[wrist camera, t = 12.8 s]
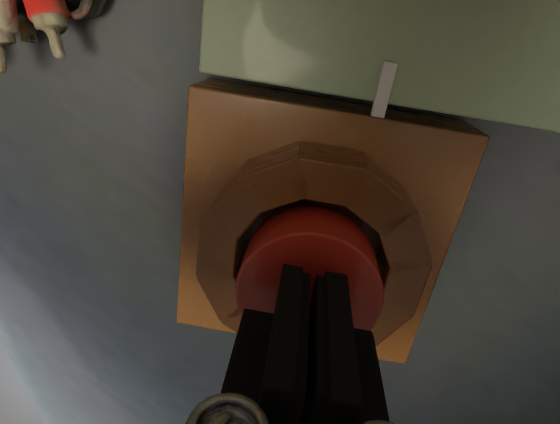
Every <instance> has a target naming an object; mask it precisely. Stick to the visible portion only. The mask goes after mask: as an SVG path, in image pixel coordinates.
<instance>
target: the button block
mask: <svg viewBox="0 0 560 424" xmlns="http://www.w3.org/2000/svg"><path fill="white" fill-rule="evenodd" d="M371 110H372V105H366V104H360V103H354V102H348V101H342V100H336V99H330V98H324V97H318V96H312V95H306V94H300V93H294V92H288V91H282V90H276V89H270V88H264V87H258V86H252V85H246V84H240V83H234V82H228V81H222V80H216V79H210V78H208V79H205V80H203V81H200V82H198V83H195V84H193V85H190V86H189V89H188V109H187V129H186V148H185V168H184V188H183V208H182V228H181V248H180V268H179V288H178V307H177V322H178V323H183V324H189V325H194V326H200V327H205V328H211V329H216V330H222V331H227V332H233V333H237V332H238V329H239V325H240V321H241V318H242V316H241V313H240V311H239V309H238V305H237V301H236V294H235V287H236V280H237V276H238V273H239V270H240V267H241V264H242V261H243V258H244V255H245V252H246V249H247V247H248V244H249V241H250V239H251V238H252V236H253V234H254V233H255V231H256V230H257V229H258V228H259V227H260V226H261V225H262V224H263V223H264V222H265V221H266V220H268V219H269V218H270V217H272V216H274V215H276V214H278V213H280V212H283V211H285V210H288V209H292V208H297V207H321V208H326V209H330V210H333V211H336V212H339V213H341V214H343V215H345V216H347V217H348V218H350V219H351V220H353V221H354V222H355V223H356V224H358V225H359V226H360V227H361V228H362V229H363V231H364V232H365V233H366V234H367V236H368V238H369V239H370V241H371V243H372V245H373V248H374V251H375V255H376V259H377V263H378V267H379V271H380V275H381V279H382V283H383V289H384V302H383V307H382V311H381V313H380V316H379V318H378V320H377V322H376V323H375V325H374V327H373V328H372V329H371V330H370V331H371V332H372V333H373V336H374V340H375V345H376V351H377V356H378V359H381V360H387V361H392V362H397V363H403V364H404V363H405V362H406V360H407V357H408V354H409V352H410V349H411V346H412V344H413V341H414V338H415V336H416V333H417V330H418V328H419V325H420V322H421V320H422V317H423V314H424V312H425V309H426V306H427V304H428V301H429V298H430V296H431V293H432V290H433V288H434V285H435V282H436V279H437V277H438V274H439V271H440V269H441V266H442V263H443V261H444V258H445V255H446V253H447V250H448V247H449V245H450V242H451V239H452V237H453V234H454V231H455V229H456V226H457V223H458V221H459V218H460V215H461V213H462V210H463V207H464V205H465V202H466V199H467V197H468V194H469V191H470V189H471V186H472V183H473V181H474V178H475V175H476V173H477V170H478V167H479V165H480V162H481V159H482V157H483V154H484V151H485V148H486V146H487V143H488V140H489V136H488V135H487V134H485V133H483V132H482V131H480V130H479V129H477V128H475V127H474V126H472V125H470V124H469V123H467V122H465V121H461V120H455V119H450V118H444V117H438V116H432V115H426V114H420V113H414V112H408V111H402V110H396V109H390V108H387V109H386V113H385V117H384V118H380V117H374V116H371Z"/></svg>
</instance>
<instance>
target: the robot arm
mask: <svg viewBox="0 0 560 424" xmlns="http://www.w3.org/2000/svg"><path fill="white" fill-rule="evenodd" d="M310 281H311V274H309V273H303V267H301V266H295V265H290V264H284V263H283V265H282V271H281V276H280V282H279V288H278V293H277V299H276V305H275V310H274V313H268V312H263V311H257V310H252V309H246V308H245V309H244V311H243V314H242V318H241V321H240V325H239V329H238V332H237V336H236V340H235V343H234V347H233V350H232V354H231V358H230V361H229V365H228V369H227V372H226V376H225V379H224V383H223V387H222V390H221V393H219V394H216V395H213V396H210V397H207V398H206V399H204V400H203V401H202V402H200V403H199V404H198V405H197V406H196V407H195V408H194V410H193V411H192V412H191V414H190V415H189V417H188V419H187V421H186V423H185V424H394V423H392V422H389V416H388V411H387V405H386V400H385V394H384V389H383V384H382V378H381V373H380V367H379V362H378V356H377V351H376V345H375V340H374V336H373V333H372V332H371V331H369V330H363V329H358V328H354V326H353V317H352V309H351V301H350V292H349V284H348V276H347V275H346V274H341V273H335V272H330V271H326V272H325V274H324V276H320V275H317V276H316V280H315V284H314V288H313V293H312V298H311V302H310Z"/></svg>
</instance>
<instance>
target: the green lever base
mask: <svg viewBox="0 0 560 424" xmlns="http://www.w3.org/2000/svg"><path fill="white" fill-rule="evenodd" d="M199 71H200V72H201V73H205V74H210V75H216V76H222V77H228V78H234V79H240V80H246V81H252V82H258V83H264V84H270V85H276V86H282V87H288V88H294V89H300V90H306V91H312V92H318V93H324V94H330V95H336V96H342V97H348V98H354V99H360V100H366V101H372V102H373V106H372V110H371V116H374V117H380V118H384V117H385V113H386V109H387V105H388V104H390V105H396V106H402V107H408V108H414V109H420V110H426V111H432V112H438V113H444V114H450V115H456V116H462V117H468V118H474V119H480V120H486V121H492V122H498V123H504V124H510V125H516V126H522V127H528V128H534V129H540V130H546V131H552V132H558V133H560V0H203V10H202V27H201V43H200V60H199Z"/></svg>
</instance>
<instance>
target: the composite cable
mask: <svg viewBox="0 0 560 424" xmlns="http://www.w3.org/2000/svg"><path fill="white" fill-rule="evenodd" d="M106 2H107V0H81V3H80V6H79V7H77V6H75V5H74V4H72V3H71V2H70V1H69V0H0V73H1V74H5V73H6V71H7V56H6V47H7V46H9V45H12V44H14V43H16V39H15V34H17V33H18V30H19V29H20V34H21V38H20V40H21V41H23V42H31V43H37V42H38V38H37V35H36V29H37V30H42V31H44V32H45V33H46V34H47V36H48V38H49V45H50V48H51V51H52V53H53V55H54V56H55V57H56V58H60V59H63V58H65V55H66V53H65V50H64V48H63V44H62V40H61V36H60V34H63V33H65V31H66V30H67V28H68V23H67V20H68V18H70V19H92V18H96V17H98V16H99V15H100V14H101V12H102V10H103V9H104V7H105V5H106Z"/></svg>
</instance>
